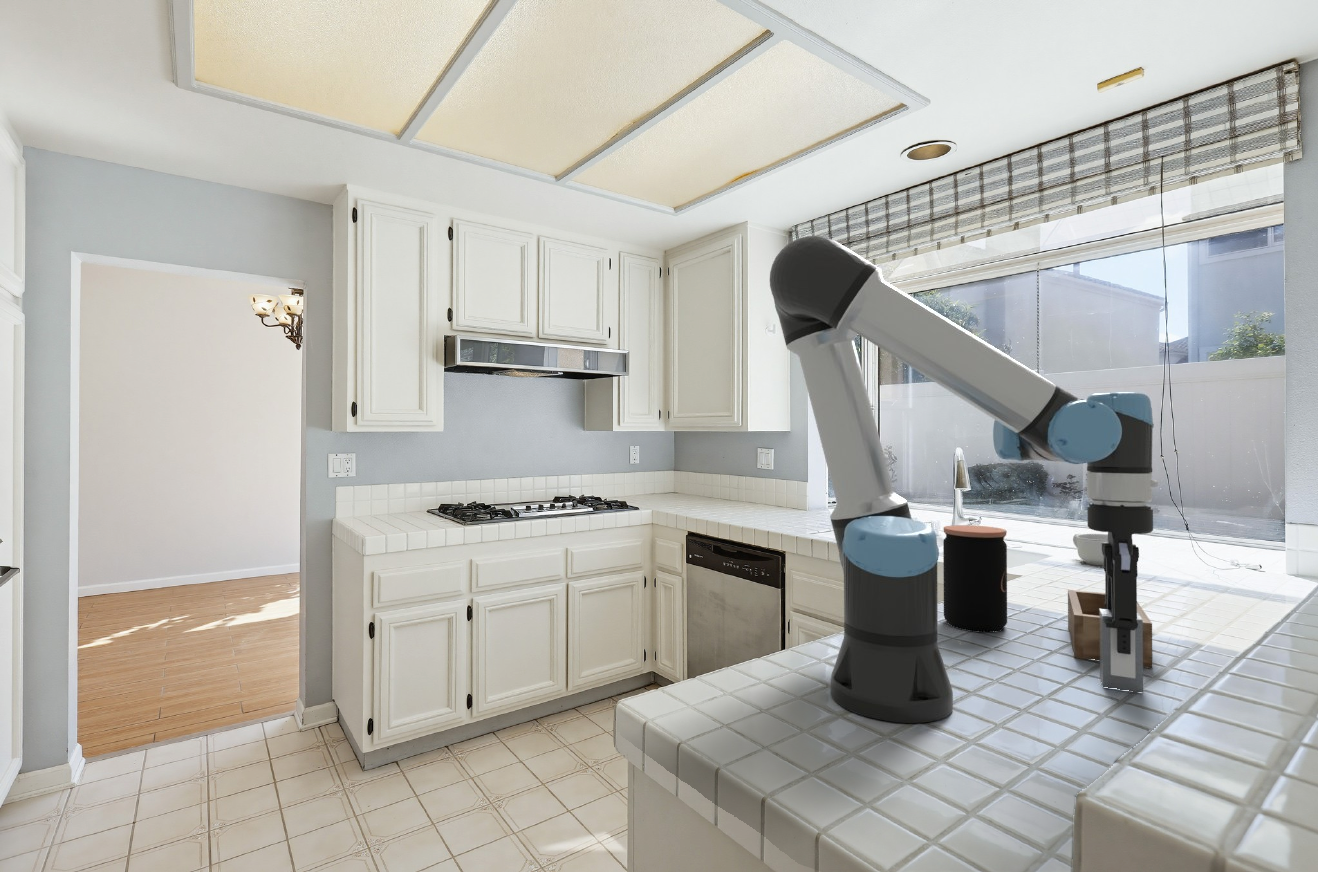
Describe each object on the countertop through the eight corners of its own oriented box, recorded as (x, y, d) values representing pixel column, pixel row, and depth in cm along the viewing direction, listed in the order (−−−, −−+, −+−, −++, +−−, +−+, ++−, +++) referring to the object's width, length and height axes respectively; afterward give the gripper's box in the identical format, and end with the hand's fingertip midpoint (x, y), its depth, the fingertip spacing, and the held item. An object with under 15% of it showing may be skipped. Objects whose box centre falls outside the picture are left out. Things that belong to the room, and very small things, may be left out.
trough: (1074, 657, 102) (1074, 614, 103) (1067, 626, 120) (1067, 589, 120) (1152, 668, 98) (1152, 623, 98) (1133, 634, 115) (1133, 595, 115)
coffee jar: (1015, 635, 115) (1015, 533, 115) (951, 631, 117) (950, 531, 117) (996, 619, 125) (996, 525, 125) (937, 616, 127) (937, 524, 128)
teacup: (1131, 567, 179) (1131, 538, 179) (1091, 567, 179) (1091, 538, 179) (1098, 558, 193) (1098, 531, 193) (1061, 558, 193) (1061, 531, 193)
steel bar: (1102, 688, 90) (1102, 615, 90) (1099, 677, 94) (1099, 608, 94) (1143, 694, 88) (1142, 620, 88) (1138, 683, 92) (1137, 612, 92)
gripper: (1164, 509, 82) (1165, 696, 81) (1143, 499, 97) (1144, 656, 96) (1092, 506, 85) (1093, 685, 85) (1083, 497, 101) (1084, 648, 100)
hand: (1120, 669), depth 91 cm, fingers closed on steel bar, 4 cm apart
